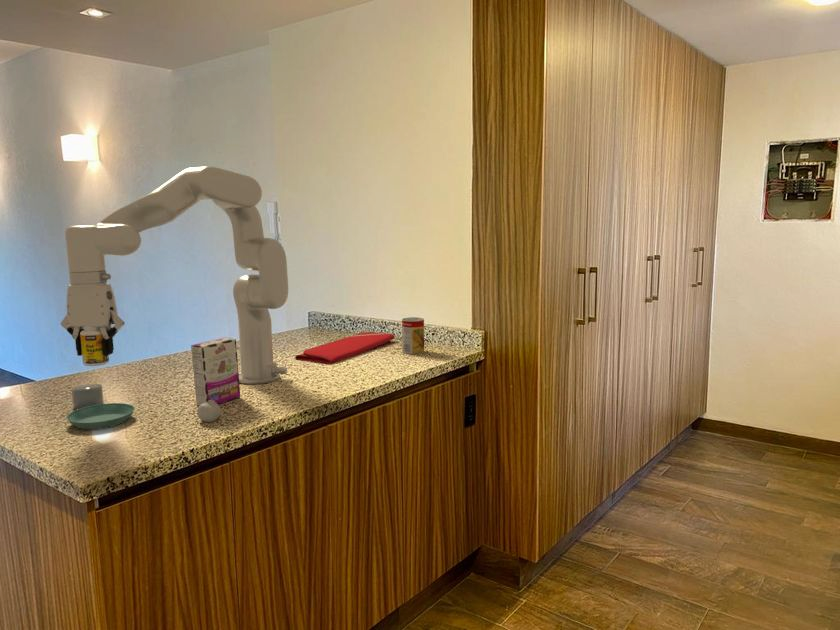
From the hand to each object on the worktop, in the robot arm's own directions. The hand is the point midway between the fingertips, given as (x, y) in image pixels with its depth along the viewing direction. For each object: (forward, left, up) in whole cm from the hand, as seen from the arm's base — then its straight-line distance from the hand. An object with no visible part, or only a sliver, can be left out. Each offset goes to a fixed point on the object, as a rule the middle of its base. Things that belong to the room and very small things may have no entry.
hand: (95, 353), depth 147 cm
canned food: (-69, -78, -17) cm, 105 cm away
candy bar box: (-22, -17, -17) cm, 33 cm away
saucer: (0, 0, -17) cm, 17 cm away
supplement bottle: (0, 0, -3) cm, 3 cm away
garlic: (-26, -2, -17) cm, 31 cm away
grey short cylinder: (+11, -12, -17) cm, 23 cm away
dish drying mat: (-45, -81, -18) cm, 94 cm away
